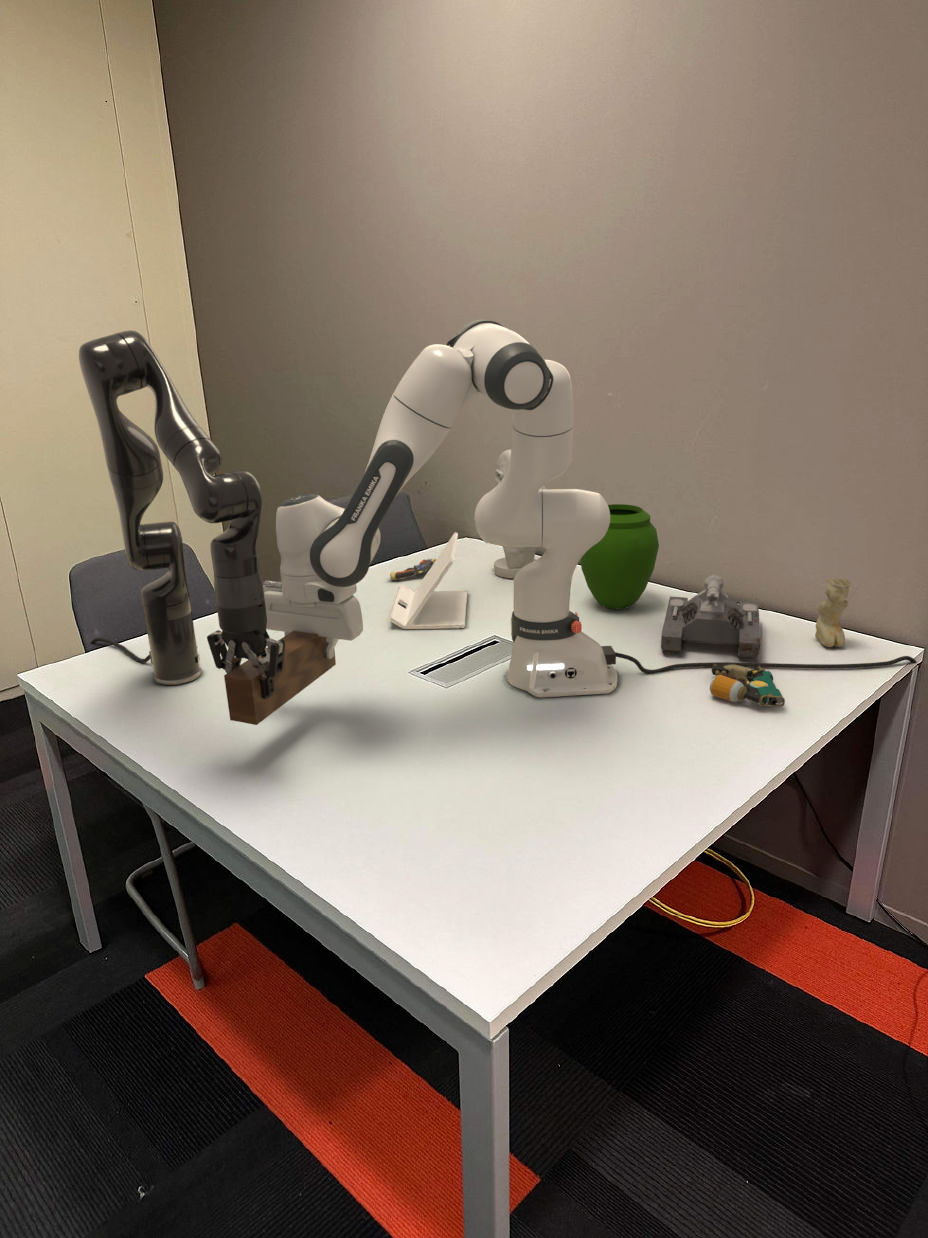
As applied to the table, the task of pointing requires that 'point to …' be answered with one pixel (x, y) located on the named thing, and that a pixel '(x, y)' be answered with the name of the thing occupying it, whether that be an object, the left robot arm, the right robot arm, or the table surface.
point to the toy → (712, 621)
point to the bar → (277, 678)
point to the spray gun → (745, 685)
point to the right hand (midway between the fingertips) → (313, 655)
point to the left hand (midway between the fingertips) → (252, 694)
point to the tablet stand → (431, 599)
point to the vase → (622, 558)
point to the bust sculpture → (513, 555)
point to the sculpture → (832, 613)
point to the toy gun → (413, 570)
